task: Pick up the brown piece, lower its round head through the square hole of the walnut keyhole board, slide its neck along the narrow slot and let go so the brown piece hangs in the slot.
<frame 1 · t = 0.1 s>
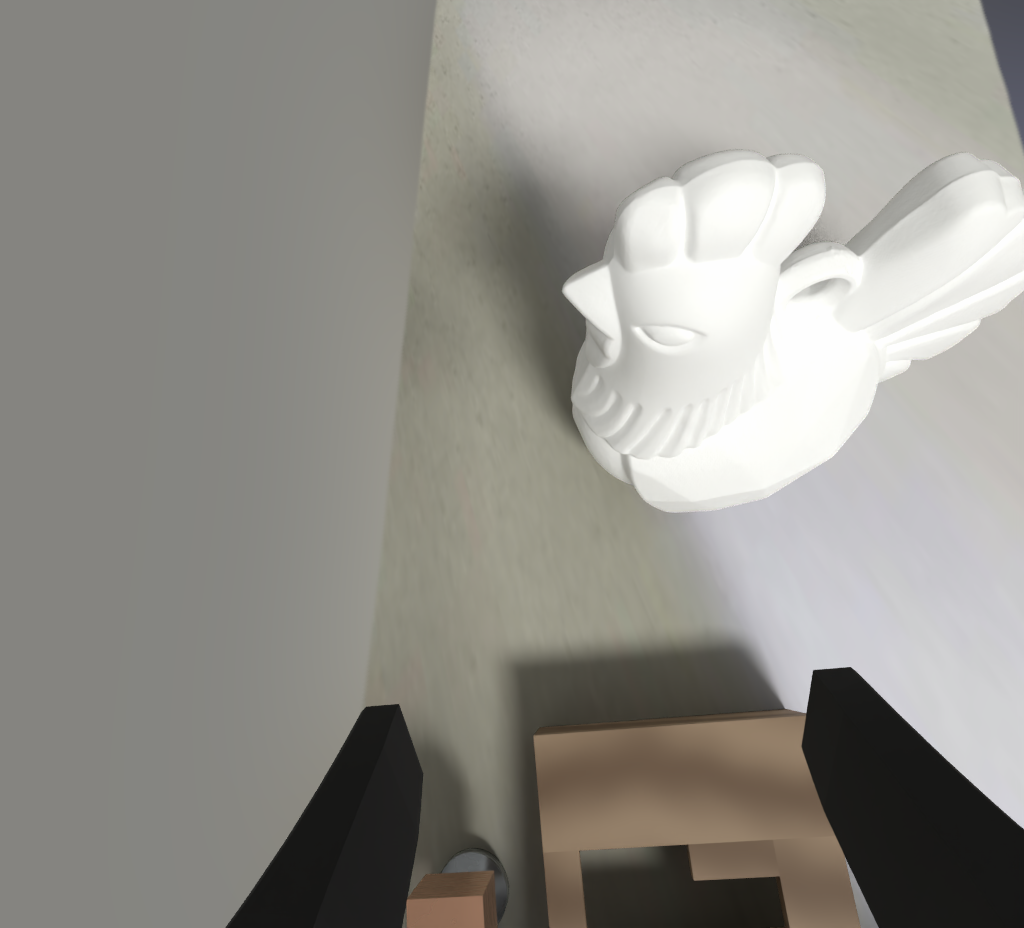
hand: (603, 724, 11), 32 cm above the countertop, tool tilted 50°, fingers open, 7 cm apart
brown piece: (474, 888, 38), on the countertop
keyhole board: (683, 877, 37), on the countertop
decorative rooster: (738, 424, 45), on the countertop
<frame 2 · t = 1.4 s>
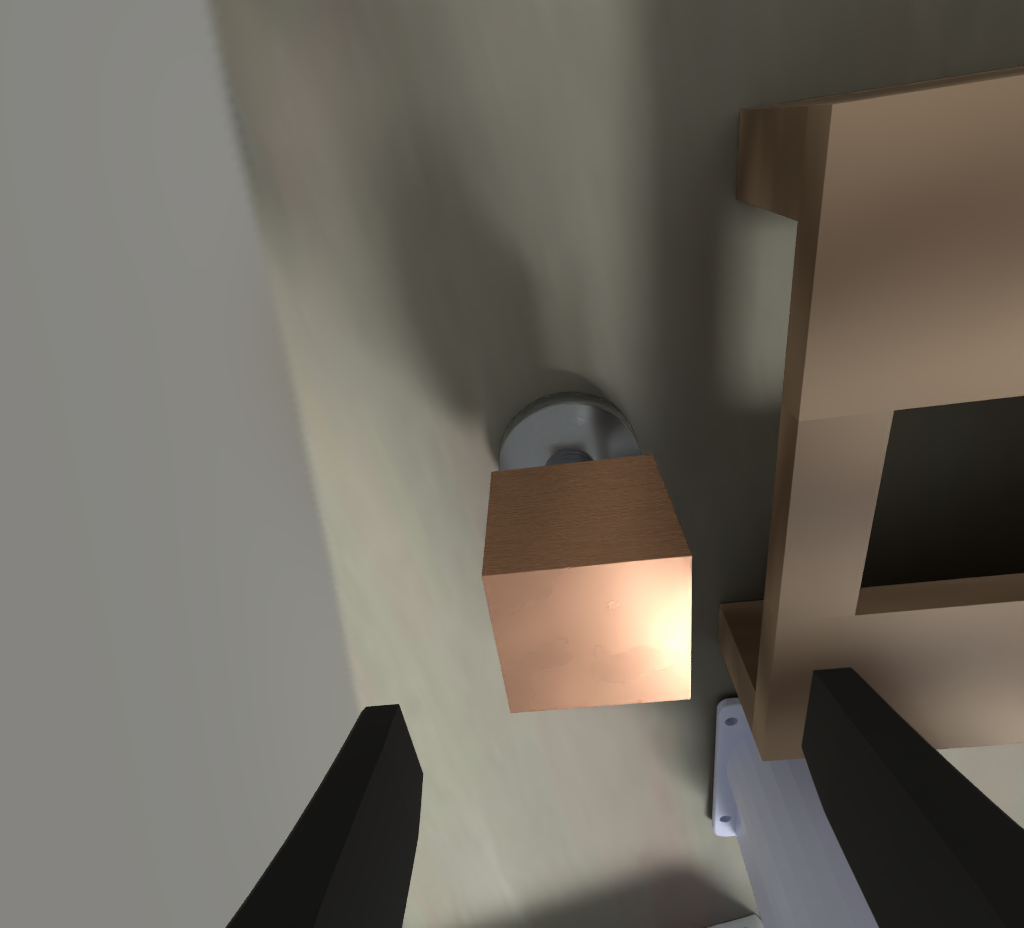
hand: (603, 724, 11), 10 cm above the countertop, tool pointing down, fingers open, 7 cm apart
brown piece: (568, 455, 19), on the countertop
keyhole board: (994, 407, 18), on the countertop
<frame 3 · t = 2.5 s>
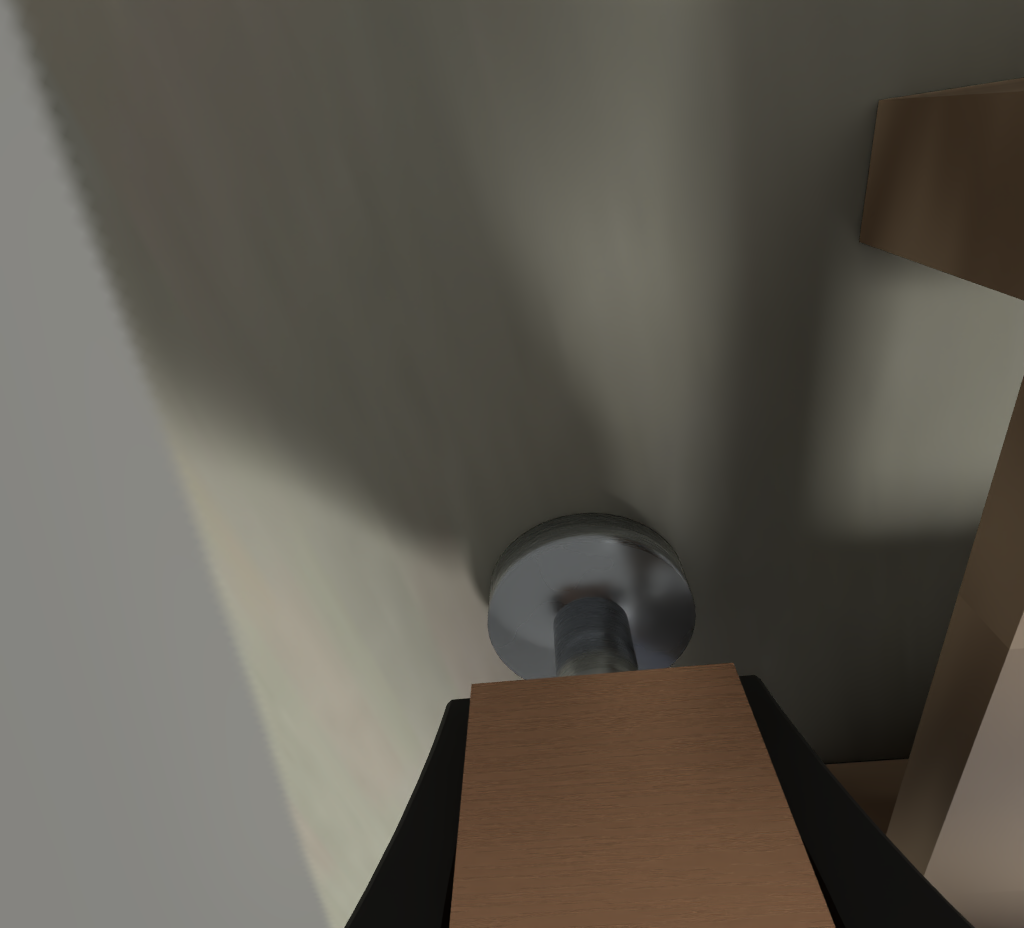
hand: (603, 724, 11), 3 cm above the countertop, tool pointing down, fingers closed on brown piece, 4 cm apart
brown piece: (586, 593, 14), on the countertop, touching gripper
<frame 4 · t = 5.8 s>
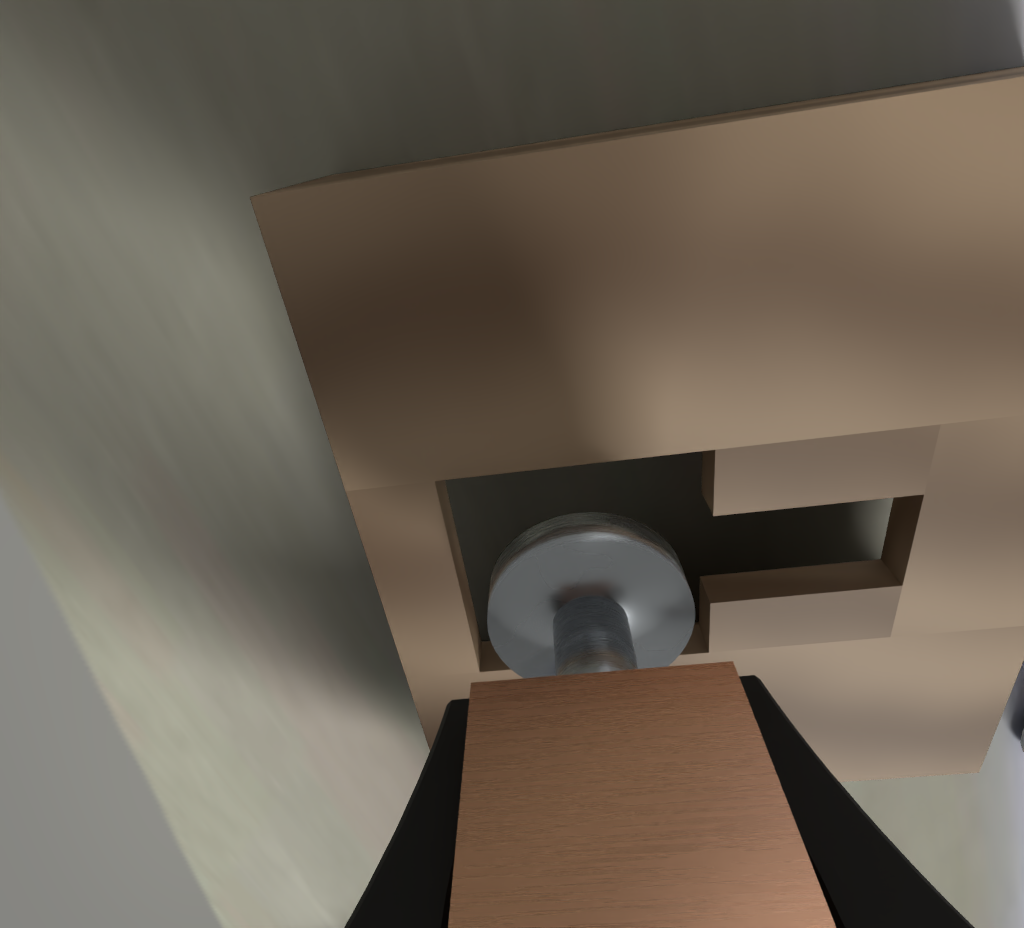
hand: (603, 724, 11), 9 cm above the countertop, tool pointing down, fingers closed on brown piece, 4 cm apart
brown piece: (586, 592, 14), point 6 cm above the countertop, touching gripper
keyhole board: (666, 457, 18), on the countertop
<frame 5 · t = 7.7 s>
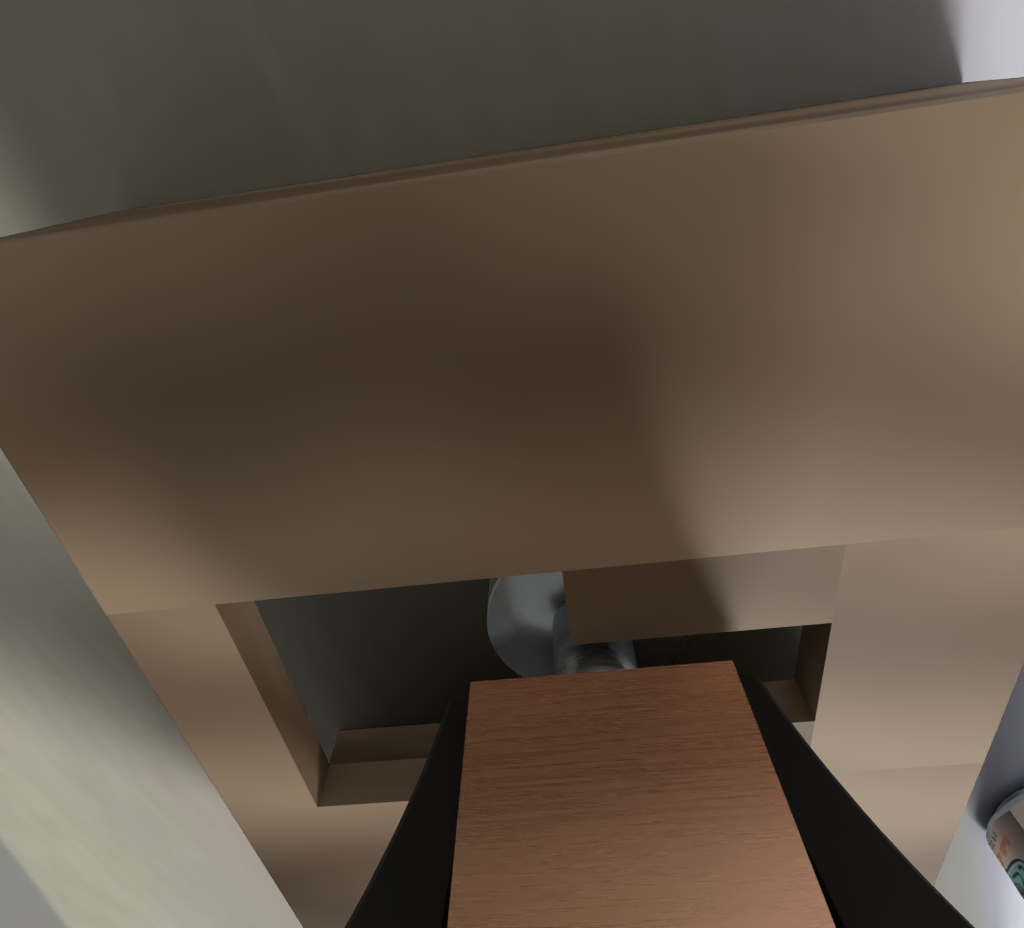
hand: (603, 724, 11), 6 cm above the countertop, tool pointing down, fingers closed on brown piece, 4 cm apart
brown piece: (585, 591, 14), point 2 cm above the countertop, touching gripper
keyhole board: (561, 535, 16), on the countertop
when the fingers open (6 cm above the countertop, at t = 9.4 s): brown piece drops 1 cm, resting on keyhole board.
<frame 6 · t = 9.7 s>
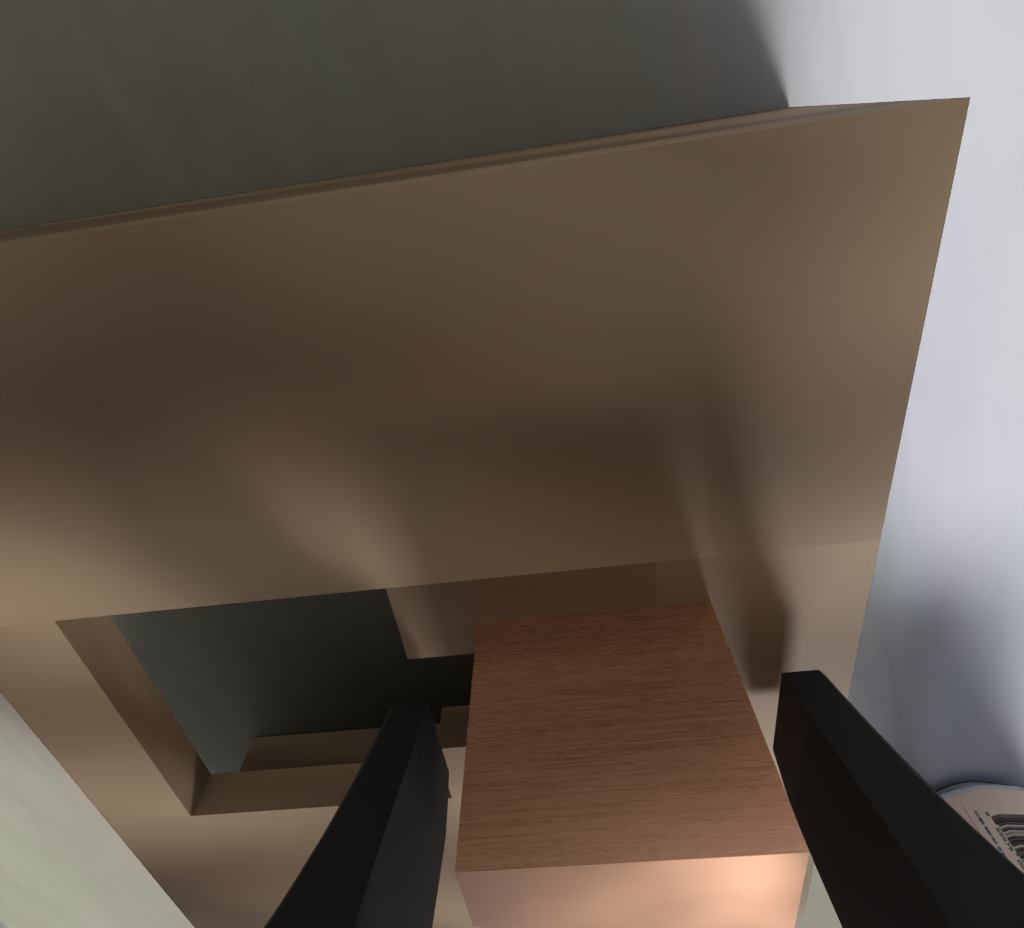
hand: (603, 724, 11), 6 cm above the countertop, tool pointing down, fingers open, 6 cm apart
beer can: (959, 806, 22), on the countertop
brown piece: (581, 556, 15), point 1 cm above the countertop, touching keyhole board
keyhole board: (450, 546, 16), on the countertop
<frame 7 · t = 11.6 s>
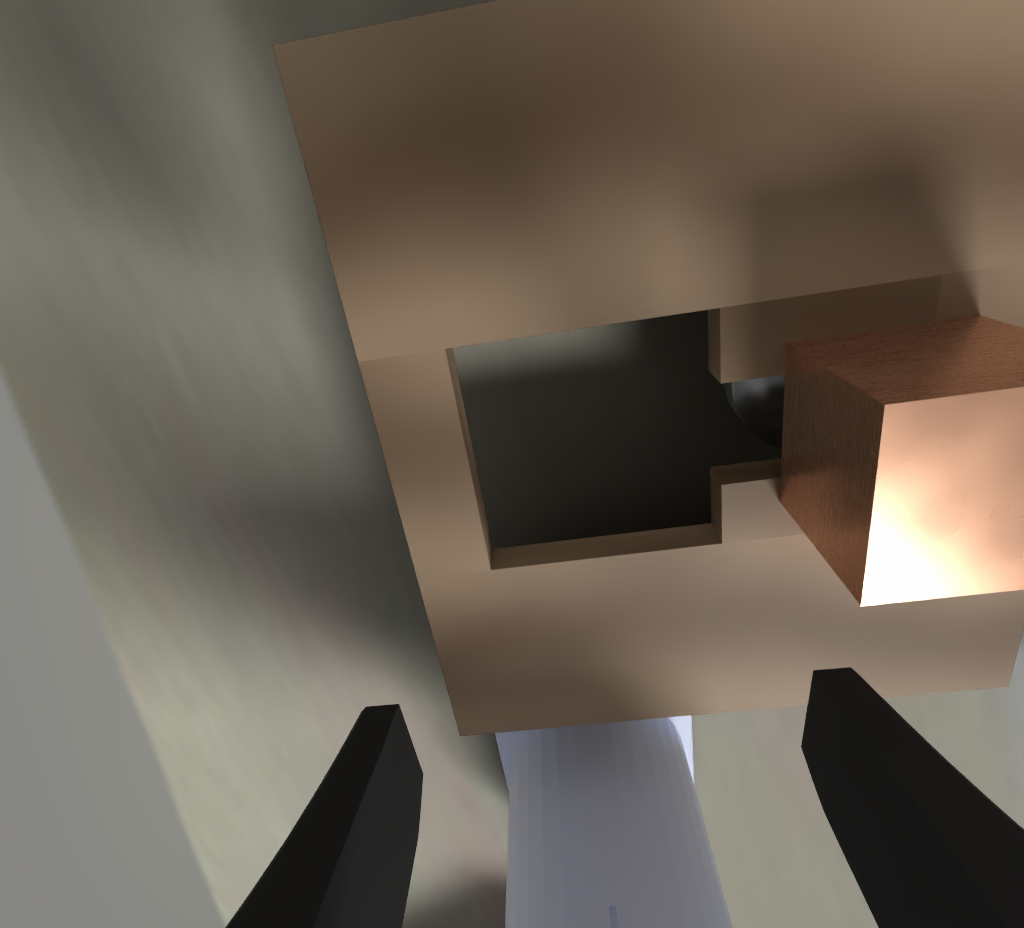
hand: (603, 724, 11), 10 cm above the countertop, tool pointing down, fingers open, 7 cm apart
brown piece: (800, 365, 17), point 1 cm above the countertop, touching keyhole board
keyhole board: (674, 373, 19), on the countertop
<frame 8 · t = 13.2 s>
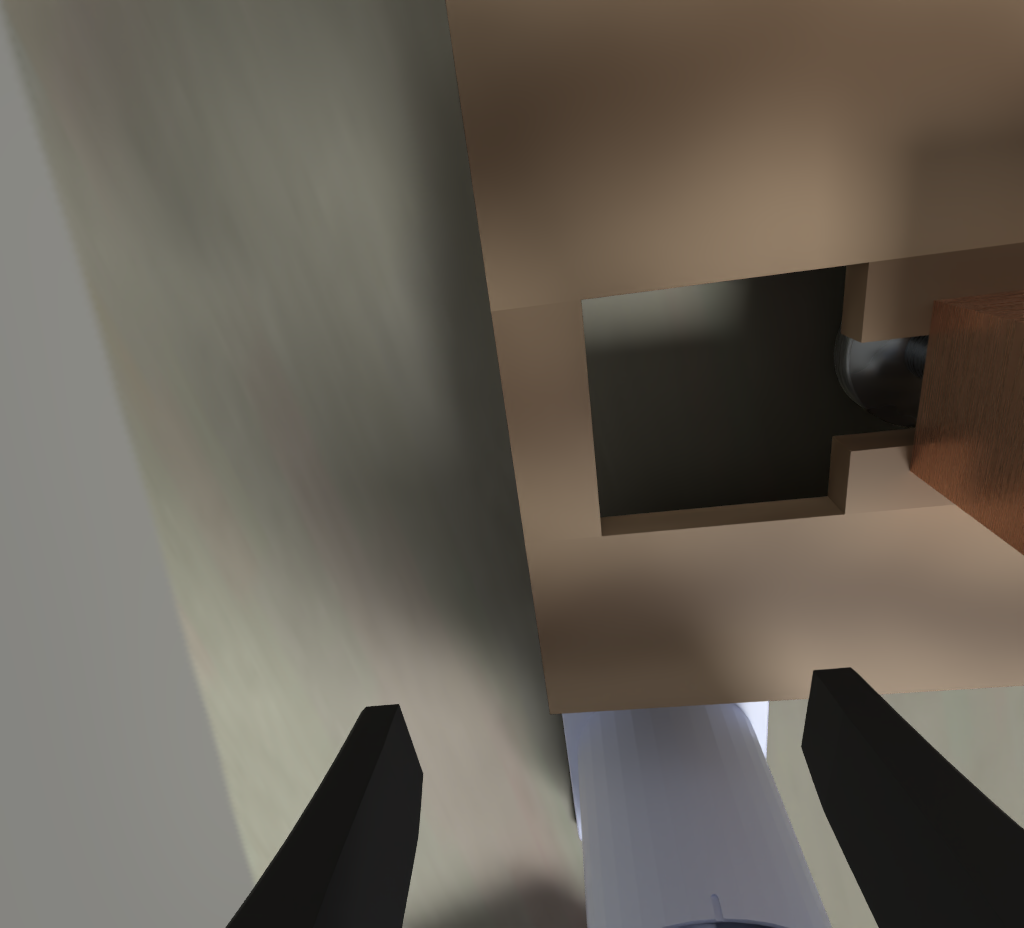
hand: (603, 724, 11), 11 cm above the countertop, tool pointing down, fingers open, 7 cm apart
brown piece: (914, 341, 17), point 1 cm above the countertop, touching keyhole board
keyhole board: (778, 349, 18), on the countertop
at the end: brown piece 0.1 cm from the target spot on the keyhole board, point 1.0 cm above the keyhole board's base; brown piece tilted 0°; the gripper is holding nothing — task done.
